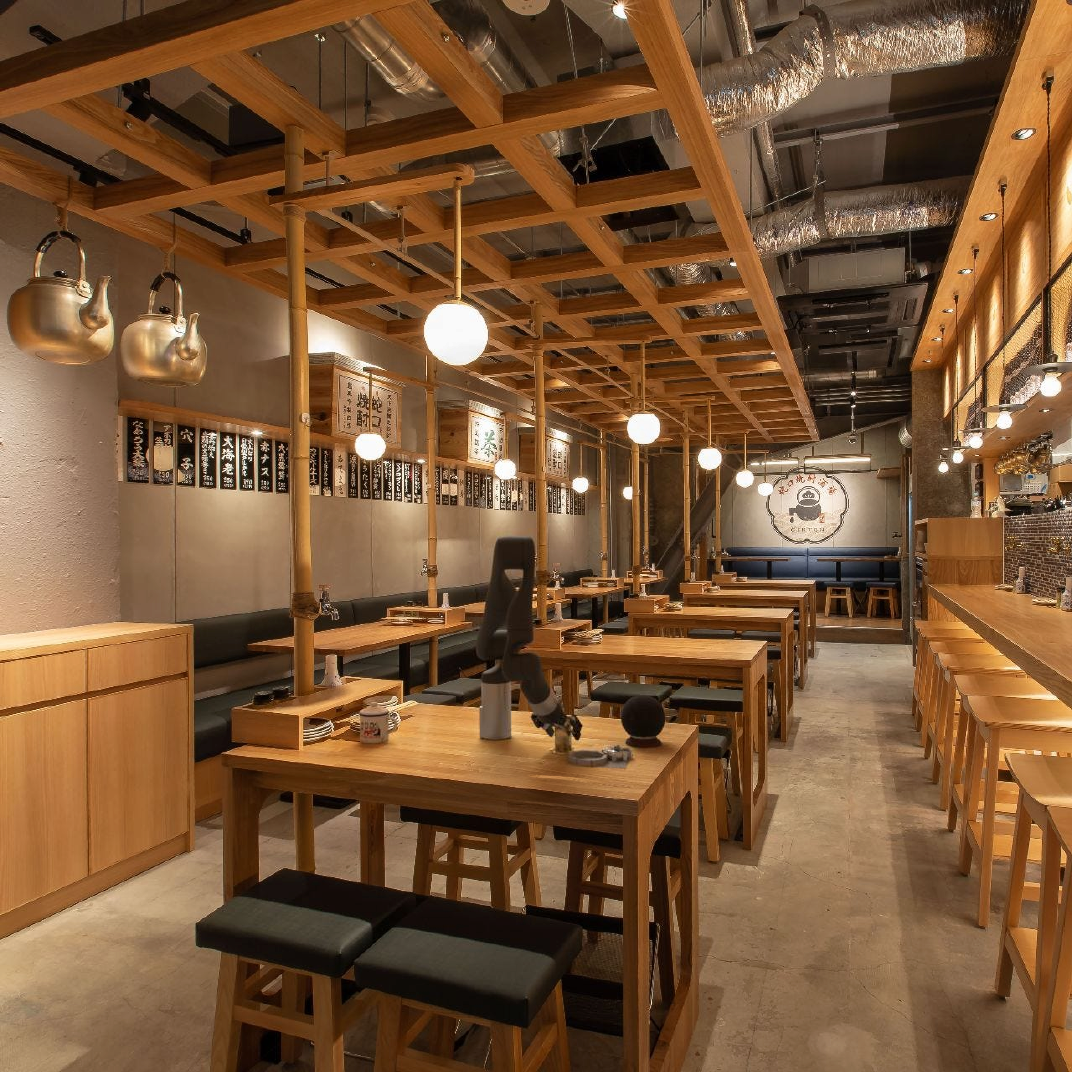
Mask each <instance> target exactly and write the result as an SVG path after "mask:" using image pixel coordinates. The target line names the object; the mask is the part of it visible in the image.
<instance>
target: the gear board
mask: <svg viewBox="0 0 1072 1072" xmlns="http://www.w3.org/2000/svg"><path fill="white" fill-rule="evenodd" d="M633 756H634V754H633V753H632V757H633ZM567 757H568V760H567V763H566V764H565V765H568V766H569V765H570V766H582V767H593V768H594V767H596V768H597V767H598V768H610V769H625V770H626V768H627V767H628V765H629V763H630V761H631V759H632V758H631V759H627V761H612V760H608V754H603V752H602V750H597V749H596V750H593V749H581V750H577V751H574V752H571V753H570V754H568V756H567Z"/></svg>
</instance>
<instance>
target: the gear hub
mask: <svg viewBox="0 0 1072 1072" xmlns="http://www.w3.org/2000/svg"><path fill="white" fill-rule="evenodd" d="M566 725H567V721H566V723H565V724H564V726H565V727H566ZM570 728H571V729H572V726H571V725H570ZM572 737H573V735H572V733H571V732H569V731H564V730H563V729H561V728H560V727H554V747H552V748H551V747H550V749H549V751H550V752H552V754H554V755H556V754H557V755H565V756H566V755H569V754H570V753H571V752H574V751H578V750H577V749H575V748H574V746H572V745H573V744H572V741H573V739H572Z"/></svg>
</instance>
